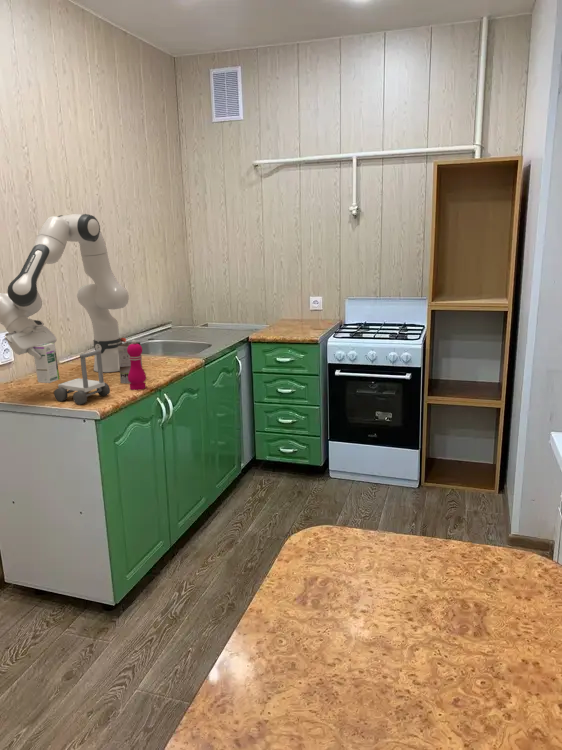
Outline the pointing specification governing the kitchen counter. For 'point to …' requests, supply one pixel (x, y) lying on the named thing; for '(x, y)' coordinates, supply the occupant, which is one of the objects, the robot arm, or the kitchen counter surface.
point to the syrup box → (46, 363)
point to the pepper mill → (136, 367)
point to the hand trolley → (83, 383)
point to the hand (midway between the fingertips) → (46, 356)
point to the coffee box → (124, 361)
